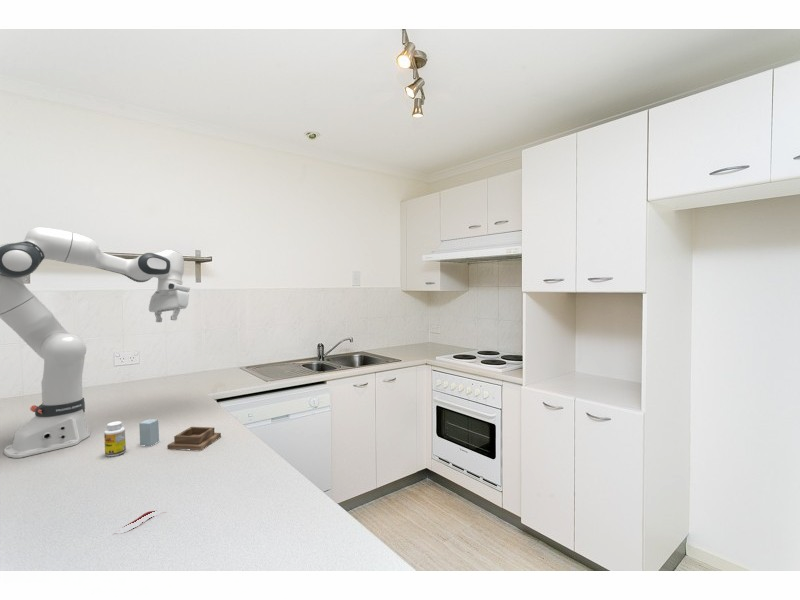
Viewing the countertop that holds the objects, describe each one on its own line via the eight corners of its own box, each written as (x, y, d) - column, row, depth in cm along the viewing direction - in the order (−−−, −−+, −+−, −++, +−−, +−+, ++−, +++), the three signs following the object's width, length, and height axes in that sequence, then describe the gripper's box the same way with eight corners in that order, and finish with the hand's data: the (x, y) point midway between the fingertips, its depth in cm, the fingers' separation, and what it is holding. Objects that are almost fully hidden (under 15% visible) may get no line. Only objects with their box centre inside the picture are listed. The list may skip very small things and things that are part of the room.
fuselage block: (150, 446, 135) (149, 423, 135) (140, 445, 136) (139, 423, 135) (159, 441, 139) (158, 419, 139) (148, 441, 140) (148, 419, 139)
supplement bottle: (101, 455, 129) (100, 424, 128) (120, 448, 134) (119, 419, 133) (110, 458, 126) (109, 427, 125) (129, 452, 131) (128, 422, 130)
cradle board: (200, 451, 131) (200, 439, 131) (167, 449, 133) (167, 437, 132) (220, 437, 143) (220, 426, 143) (190, 435, 145) (189, 425, 144)
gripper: (146, 290, 166) (142, 322, 163) (178, 284, 157) (174, 317, 154) (161, 293, 171) (157, 324, 168) (192, 287, 163) (189, 320, 160)
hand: (166, 321), depth 161 cm, fingers open, 8 cm apart
